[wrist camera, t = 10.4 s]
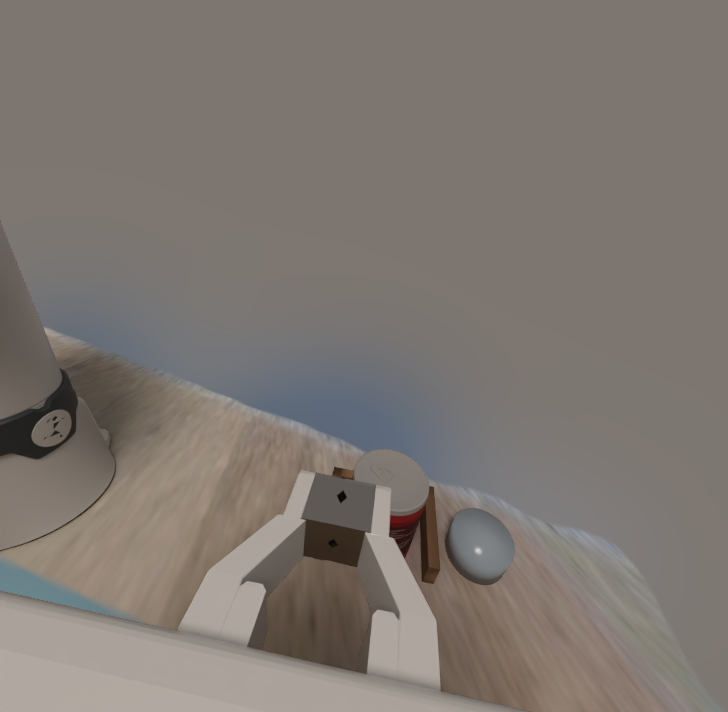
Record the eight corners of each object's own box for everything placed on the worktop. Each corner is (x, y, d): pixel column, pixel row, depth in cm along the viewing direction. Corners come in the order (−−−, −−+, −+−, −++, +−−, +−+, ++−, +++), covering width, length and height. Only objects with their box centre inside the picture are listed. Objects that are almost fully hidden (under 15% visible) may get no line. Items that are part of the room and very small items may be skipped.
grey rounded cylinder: (447, 577, 35) (456, 561, 33) (442, 519, 41) (449, 502, 39) (510, 592, 35) (523, 575, 33) (496, 531, 41) (505, 514, 39)
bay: (312, 557, 35) (314, 542, 33) (332, 481, 44) (334, 467, 42) (433, 583, 34) (440, 569, 33) (428, 501, 43) (433, 487, 41)
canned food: (355, 499, 42) (367, 439, 36) (413, 523, 40) (435, 463, 34) (331, 555, 35) (341, 491, 30) (399, 586, 33) (423, 524, 28)
